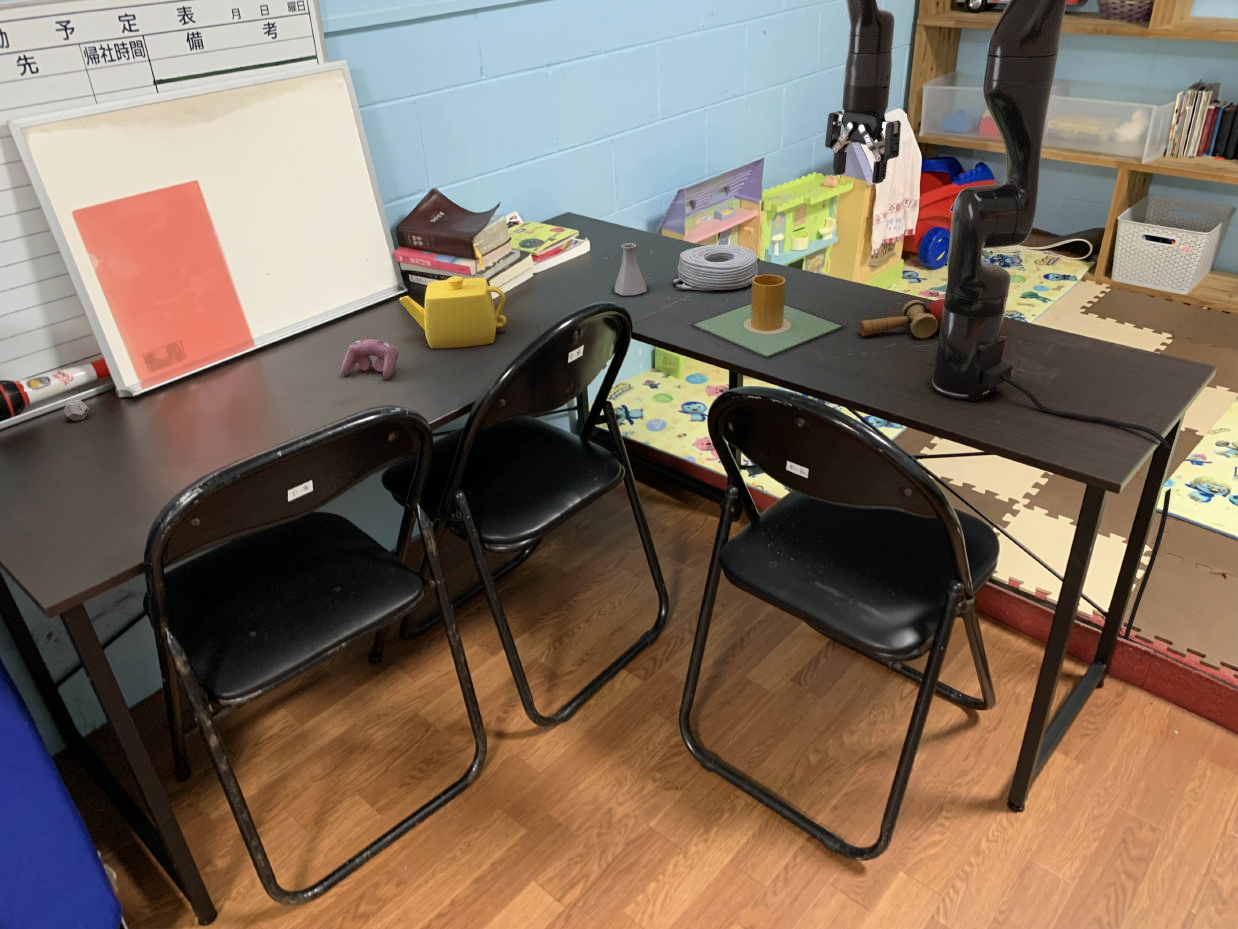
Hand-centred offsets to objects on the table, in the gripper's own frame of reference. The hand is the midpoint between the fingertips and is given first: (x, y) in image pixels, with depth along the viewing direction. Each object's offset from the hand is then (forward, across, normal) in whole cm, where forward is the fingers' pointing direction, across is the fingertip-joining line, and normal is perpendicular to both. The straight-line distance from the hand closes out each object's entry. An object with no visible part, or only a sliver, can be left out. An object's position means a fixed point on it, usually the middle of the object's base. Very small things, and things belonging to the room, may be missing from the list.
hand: (858, 178), depth 163 cm
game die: (+28, -62, -124) cm, 141 cm away
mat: (+28, -10, -11) cm, 32 cm away
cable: (+28, -36, 0) cm, 46 cm away
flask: (+28, -44, -18) cm, 55 cm away
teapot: (+28, -48, -58) cm, 80 cm away
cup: (+28, -10, -11) cm, 31 cm away
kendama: (+28, +10, +6) cm, 31 cm away
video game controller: (+28, -44, -78) cm, 94 cm away
